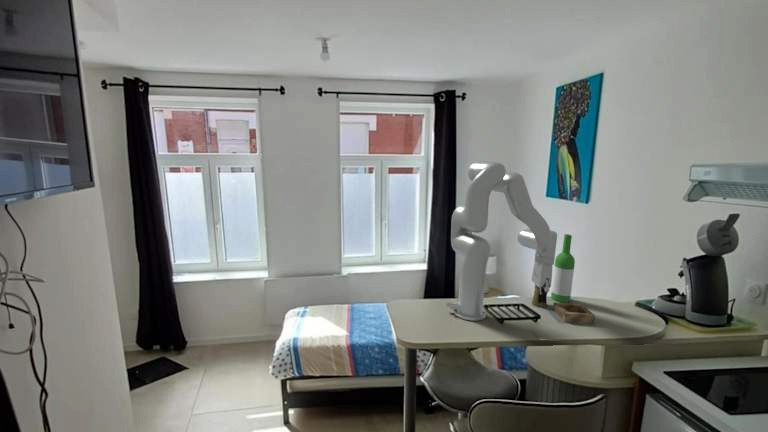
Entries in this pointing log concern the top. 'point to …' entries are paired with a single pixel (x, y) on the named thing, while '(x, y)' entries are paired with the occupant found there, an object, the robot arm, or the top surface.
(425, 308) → the top surface
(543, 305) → the cork
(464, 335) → the top surface
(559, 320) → the mat
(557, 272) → the wine bottle
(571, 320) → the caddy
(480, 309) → the robot arm
